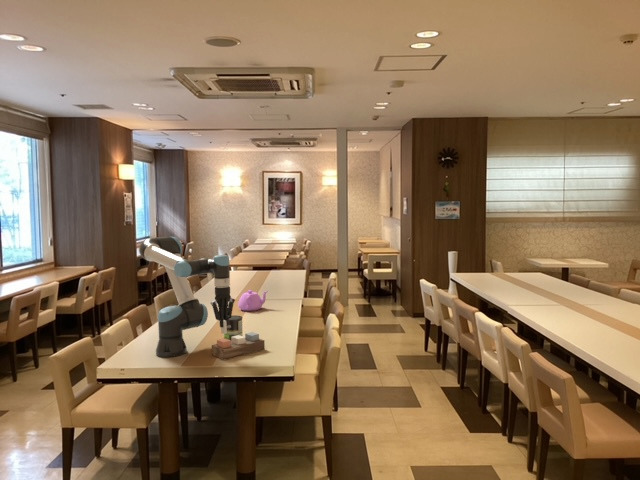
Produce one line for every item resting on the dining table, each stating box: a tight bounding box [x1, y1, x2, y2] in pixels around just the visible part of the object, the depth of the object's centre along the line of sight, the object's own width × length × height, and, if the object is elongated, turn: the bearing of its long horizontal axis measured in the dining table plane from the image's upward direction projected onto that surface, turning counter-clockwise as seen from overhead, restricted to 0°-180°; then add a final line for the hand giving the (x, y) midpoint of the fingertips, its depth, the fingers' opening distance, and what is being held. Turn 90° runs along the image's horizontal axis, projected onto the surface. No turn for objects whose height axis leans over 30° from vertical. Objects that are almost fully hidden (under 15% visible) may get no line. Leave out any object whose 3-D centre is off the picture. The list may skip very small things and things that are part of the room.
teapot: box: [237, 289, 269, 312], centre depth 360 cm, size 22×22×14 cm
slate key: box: [244, 331, 260, 341], centre depth 262 cm, size 6×4×3 cm
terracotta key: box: [216, 337, 231, 348], centre depth 251 cm, size 6×4×3 cm
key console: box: [211, 338, 266, 361], centre depth 257 cm, size 12×24×5 cm, turn 133°
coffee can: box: [223, 314, 244, 340], centre depth 274 cm, size 10×10×14 cm
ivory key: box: [231, 335, 245, 345], centre depth 257 cm, size 6×4×3 cm
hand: (224, 333), depth 250 cm, fingers closed
